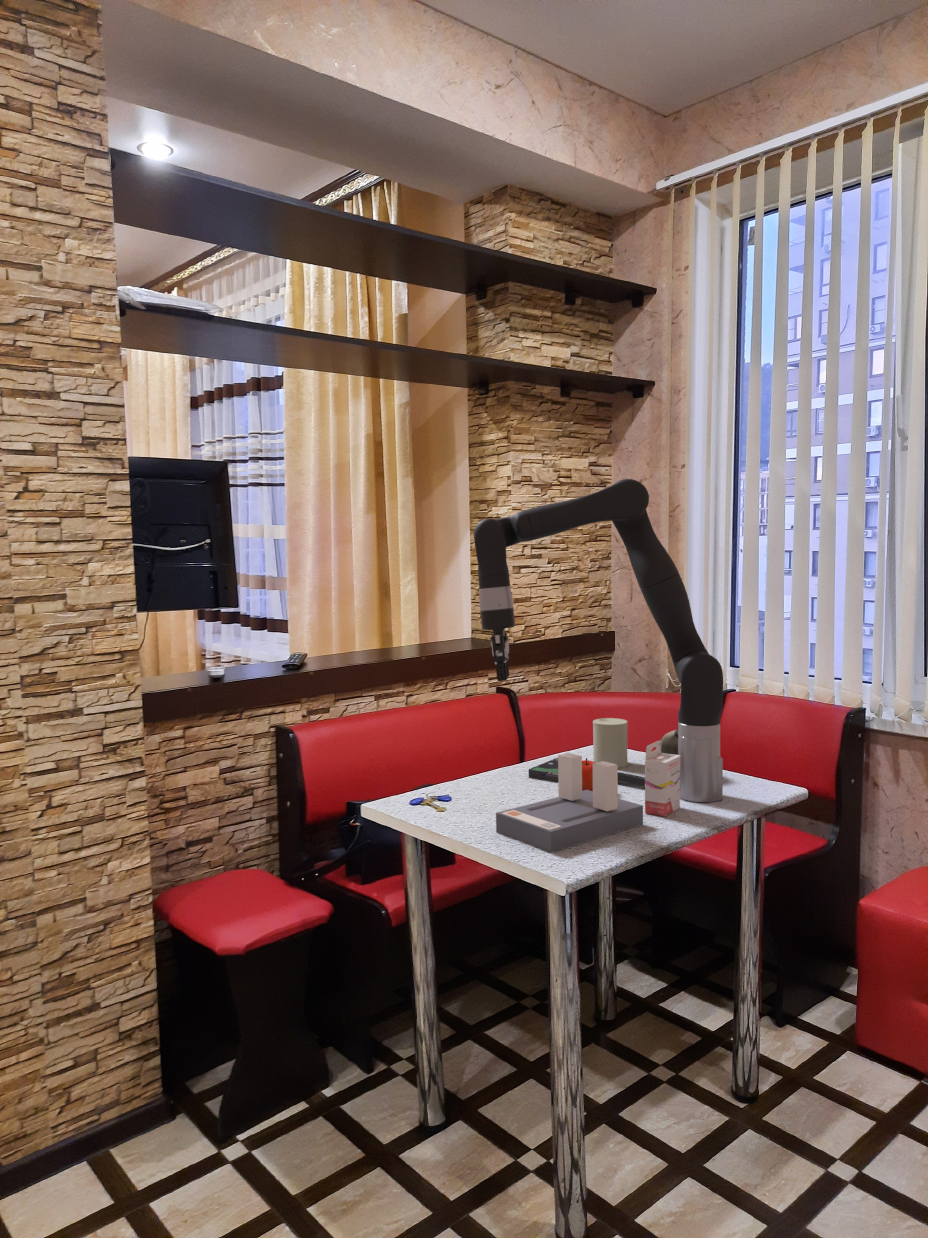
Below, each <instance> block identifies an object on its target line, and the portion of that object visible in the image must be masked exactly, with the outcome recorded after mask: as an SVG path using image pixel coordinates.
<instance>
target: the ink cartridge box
mask: <svg viewBox="0 0 928 1238" xmlns="http://www.w3.org/2000/svg"><path fill="white" fill-rule="evenodd" d="M661 744H662V740H661V739H660V740H656V741H655V742H652V743H651V744H648V745H647V746H646V749H645V758H644V759H645V760H644V777H645V790H644V813H645V814H650V815H654V816H660V817H667V816H668V815H669V814H671V813H673V812H676V811H677V810H678V809H680V807H681V805H680V804H681V800H680V799H681V798H680V757H681V756H680V755H673V754H664V753H661ZM654 748H655V749H654ZM653 749H654V750H653Z"/></svg>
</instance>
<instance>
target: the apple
mask: <svg viewBox="0 0 928 1238" xmlns="http://www.w3.org/2000/svg"><path fill="white" fill-rule="evenodd" d="M593 763H596V762H593V760H588V757H586V758H585V759H584V760H583V759H582V791H584V790H590V791H593Z"/></svg>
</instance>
